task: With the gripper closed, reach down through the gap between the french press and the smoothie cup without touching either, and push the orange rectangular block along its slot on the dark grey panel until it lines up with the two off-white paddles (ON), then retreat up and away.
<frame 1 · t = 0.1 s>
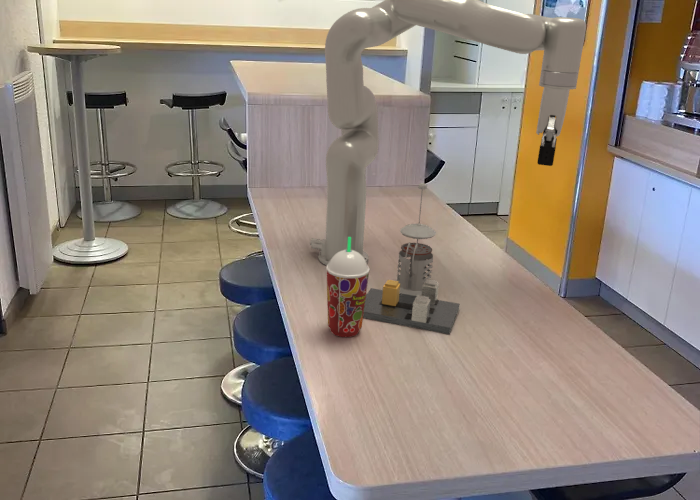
hand: (545, 160, 148), 31 cm above the table, fingers open, 9 cm apart
orange rectangular block: (391, 292, 144), point 4 cm above the table, slide at 0.0 cm
smoothie: (344, 331, 135), on the table
french press: (412, 289, 157), on the table
panel: (407, 313, 144), on the table
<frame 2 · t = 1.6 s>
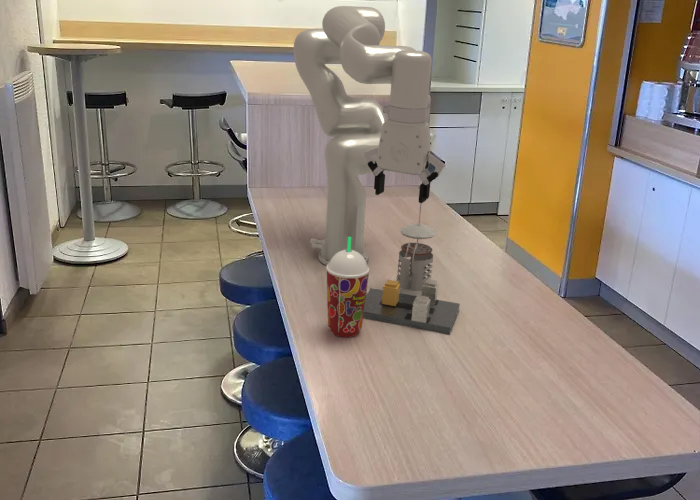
hand: (400, 197, 141), 24 cm above the table, fingers open, 9 cm apart
nothing on the table moved.
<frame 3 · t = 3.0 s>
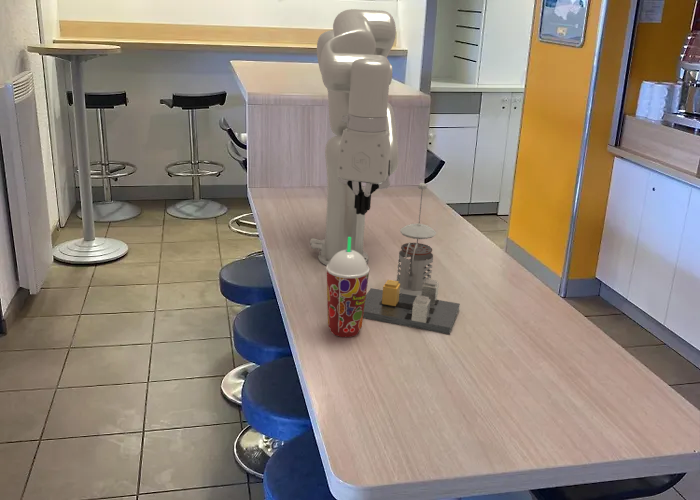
hand: (362, 212, 140), 21 cm above the table, fingers closed
nothing on the table moved.
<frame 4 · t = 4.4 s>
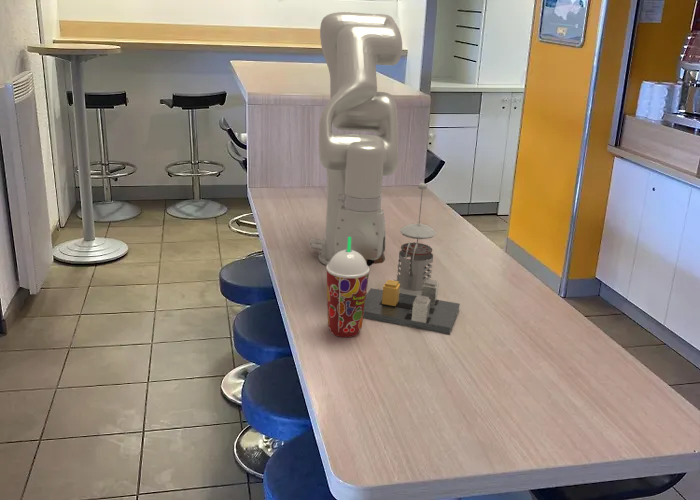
hand: (358, 285, 145), 5 cm above the table, fingers closed
nothing on the table moved.
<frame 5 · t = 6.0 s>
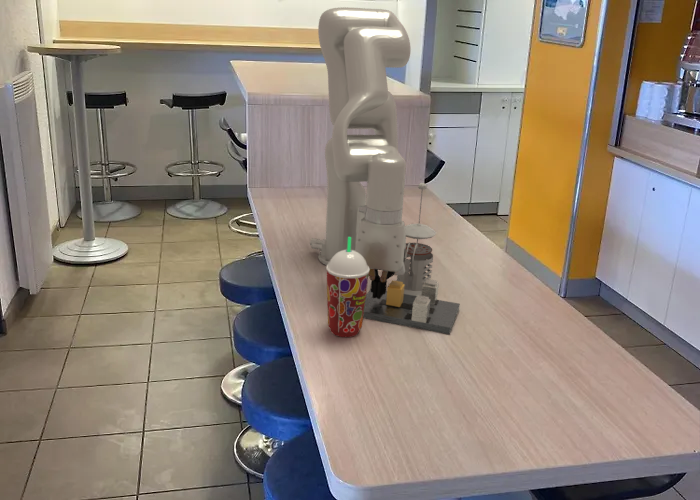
hand: (377, 295, 145), 3 cm above the table, fingers closed
orange rectangular block: (395, 293, 144), point 4 cm above the table, slide at 1.0 cm, touching gripper
everything else where it was.
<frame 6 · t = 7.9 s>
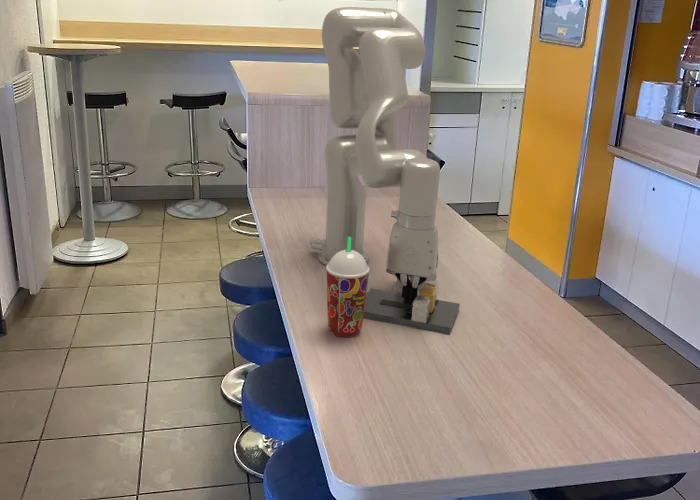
hand: (408, 301, 143), 3 cm above the table, fingers closed
orange rectangular block: (427, 298, 142), point 4 cm above the table, slide at 7.8 cm, touching gripper
everything else where it was.
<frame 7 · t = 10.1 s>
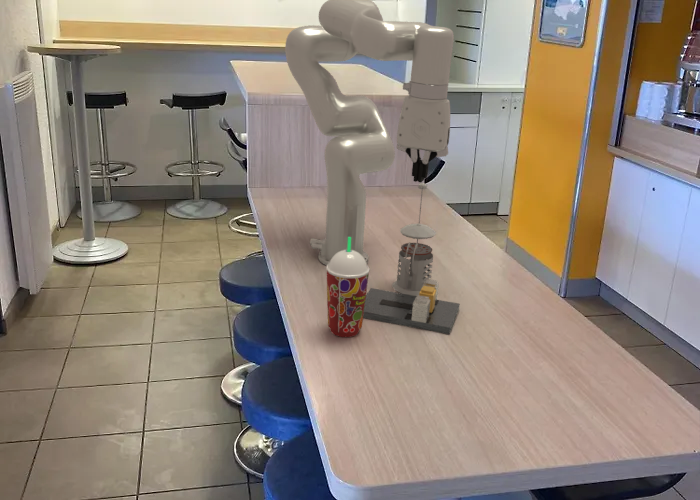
hand: (419, 180, 141), 27 cm above the table, fingers closed
orange rectangular block: (427, 298, 142), point 4 cm above the table, slide at 7.8 cm
everything else where it was.
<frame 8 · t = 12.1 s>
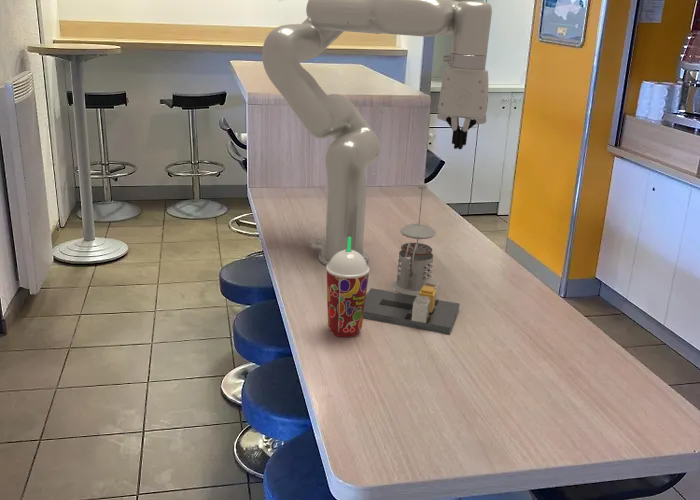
hand: (458, 147, 150), 32 cm above the table, fingers closed
nothing on the table moved.
at the end: orange rectangular block slide at 7.8 cm; french press moved 0.2 cm from its start; smoothie moved 0.2 cm from its start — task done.
